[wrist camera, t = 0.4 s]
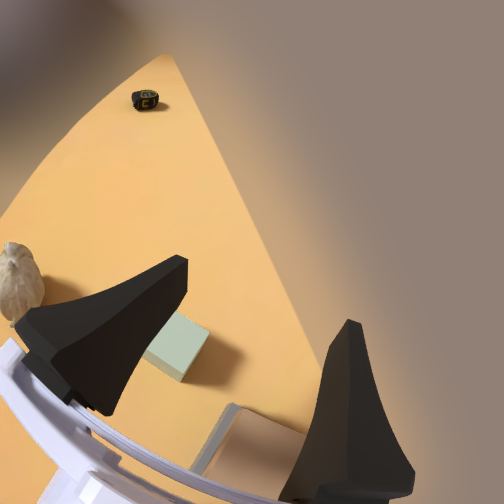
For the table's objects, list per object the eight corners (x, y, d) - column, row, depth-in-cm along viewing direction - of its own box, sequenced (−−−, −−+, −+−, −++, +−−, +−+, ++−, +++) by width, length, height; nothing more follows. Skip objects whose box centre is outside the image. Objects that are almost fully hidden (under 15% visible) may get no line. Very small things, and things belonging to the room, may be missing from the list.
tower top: (273, 503, 18) (286, 509, 16) (200, 476, 19) (205, 481, 16) (303, 440, 23) (318, 439, 21) (236, 411, 24) (245, 408, 22)
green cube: (179, 382, 26) (183, 373, 23) (141, 356, 27) (138, 343, 23) (202, 347, 30) (210, 332, 26) (165, 323, 30) (167, 305, 26)
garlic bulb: (26, 283, 28) (7, 222, 23) (68, 296, 28) (50, 228, 23) (-8, 328, 20) (-39, 264, 15) (34, 349, 21) (-1, 279, 15)
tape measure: (130, 102, 59) (131, 89, 56) (155, 100, 62) (157, 88, 59) (132, 112, 56) (134, 98, 53) (159, 110, 59) (161, 97, 56)
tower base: (266, 510, 19) (277, 516, 17) (183, 477, 20) (185, 482, 18) (301, 439, 26) (314, 439, 24) (225, 405, 27) (232, 402, 24)
